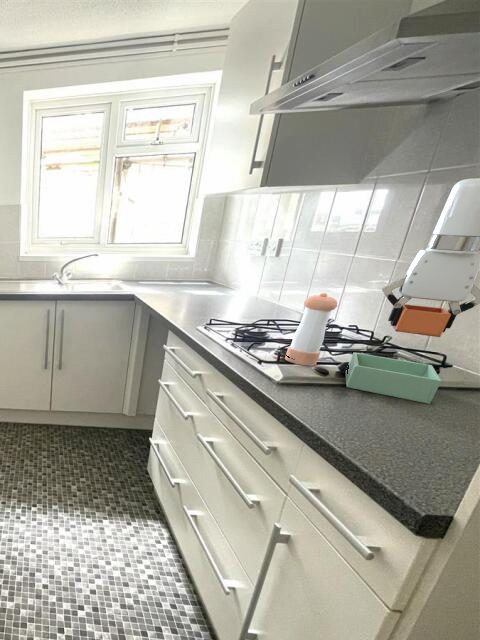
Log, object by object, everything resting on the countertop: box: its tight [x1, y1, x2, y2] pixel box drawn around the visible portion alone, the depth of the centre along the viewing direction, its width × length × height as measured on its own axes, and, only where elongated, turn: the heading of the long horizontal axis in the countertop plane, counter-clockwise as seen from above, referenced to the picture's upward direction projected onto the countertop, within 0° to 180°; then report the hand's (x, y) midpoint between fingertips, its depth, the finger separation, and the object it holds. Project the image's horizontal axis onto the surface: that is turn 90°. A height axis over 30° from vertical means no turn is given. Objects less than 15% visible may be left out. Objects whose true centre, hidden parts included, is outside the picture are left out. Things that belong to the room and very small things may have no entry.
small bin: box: [392, 303, 451, 338], centre depth 92 cm, size 7×7×5 cm
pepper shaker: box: [284, 292, 338, 367], centre depth 114 cm, size 7×7×19 cm
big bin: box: [345, 352, 442, 405], centre depth 100 cm, size 14×12×6 cm
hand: (416, 327), depth 93 cm, fingers closed on small bin, 7 cm apart
